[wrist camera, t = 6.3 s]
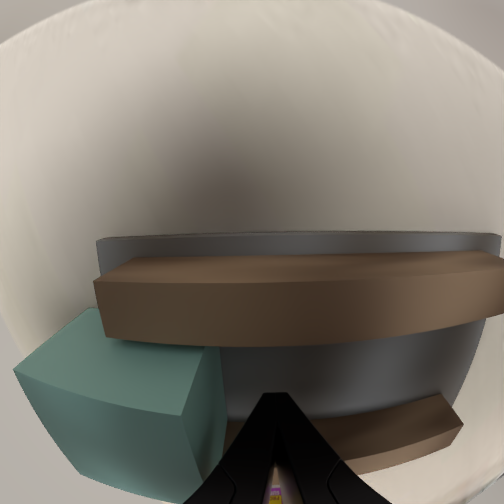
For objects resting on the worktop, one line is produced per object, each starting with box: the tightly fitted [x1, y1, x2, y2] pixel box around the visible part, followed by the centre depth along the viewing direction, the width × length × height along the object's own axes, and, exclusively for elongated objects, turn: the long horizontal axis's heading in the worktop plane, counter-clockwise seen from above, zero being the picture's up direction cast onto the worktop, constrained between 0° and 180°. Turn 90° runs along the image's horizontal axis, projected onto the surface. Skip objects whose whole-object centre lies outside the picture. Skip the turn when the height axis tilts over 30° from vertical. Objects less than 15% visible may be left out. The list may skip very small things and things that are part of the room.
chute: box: [93, 231, 504, 485], centre depth 8 cm, size 16×10×3 cm, turn 92°
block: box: [13, 308, 228, 504], centre depth 7 cm, size 5×5×4 cm
